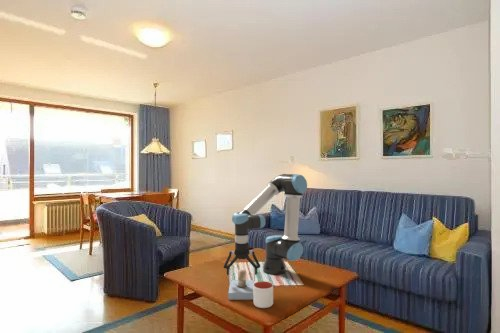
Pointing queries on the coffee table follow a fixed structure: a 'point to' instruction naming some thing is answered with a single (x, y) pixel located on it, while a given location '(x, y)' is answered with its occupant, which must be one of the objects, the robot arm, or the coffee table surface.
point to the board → (240, 290)
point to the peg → (241, 278)
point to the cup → (263, 294)
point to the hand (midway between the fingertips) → (242, 280)
